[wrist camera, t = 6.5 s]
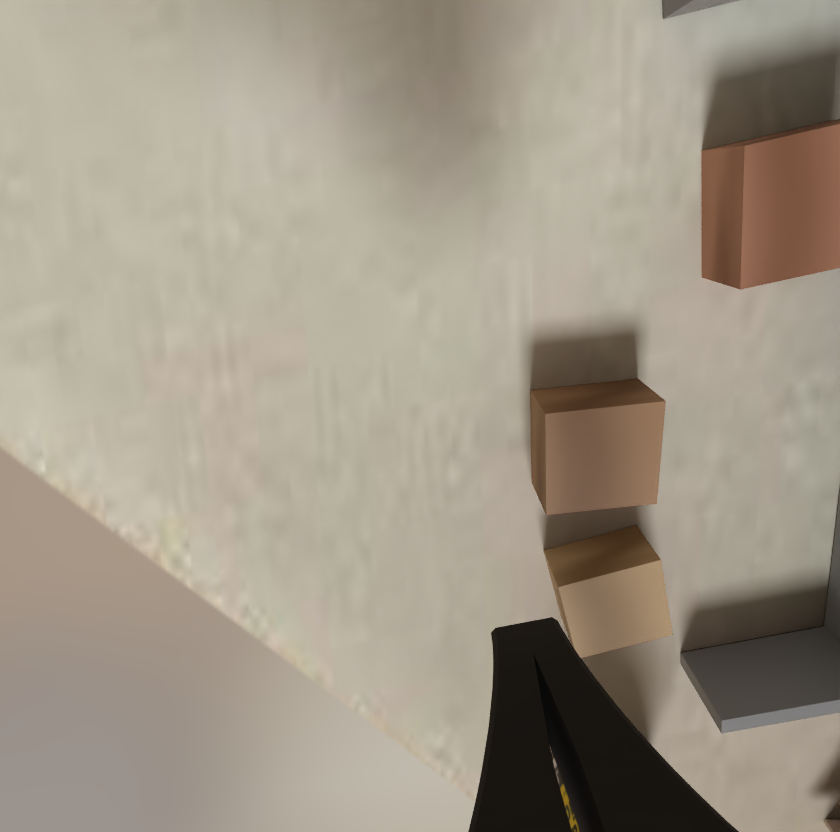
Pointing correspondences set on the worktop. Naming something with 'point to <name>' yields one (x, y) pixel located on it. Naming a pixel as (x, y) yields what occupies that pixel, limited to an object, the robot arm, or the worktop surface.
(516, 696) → the robot arm
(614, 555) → the oak tile
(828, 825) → the architectural model
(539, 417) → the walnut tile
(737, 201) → the cherry tile
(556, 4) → the worktop surface
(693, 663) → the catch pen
